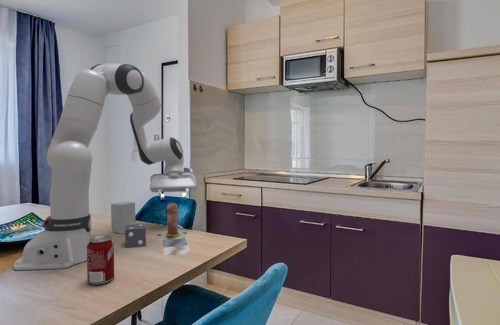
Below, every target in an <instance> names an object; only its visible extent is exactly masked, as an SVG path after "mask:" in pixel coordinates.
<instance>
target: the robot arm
mask: <svg viewBox="0 0 500 325" xmlns="http://www.w3.org/2000/svg"><path fill="white" fill-rule="evenodd" d="M108 94H111V95H116V96H117V95H118V96H122V95H123V96H124V95H126V96H127V99H128V100H129V102H130V105H131V107H132V112H131V113H130V117H129V120H130V125H131V130H132V132H133V137H134V139H135V142H136V146H137V151H138V155H139V158H140V161H141V162H142V163H144V164H146V165H148V166H149V165H153V164H157V163H159V162H163V161H164V165H165V166H164V171H163V172H164V173H154V174H152V175H150V179H149V181H150V184H149V188H150V189H149V190H150V192H151V193H158V195H159V198H160V200H165V194H164V193H179V192H180V193H182V192H184V193H182V199H183V200H186V199H187V196H188V194H189V193H190V192H195V191H197V179H196V176H195V174H194V170H193V169H192V168H190V167H185V166H184V163H185V160H184V158H185V157H184V151H183V147H182V145H181V143H180V141H179V140H178V139H176V138H174V137H172V136H171V137H167V138H162V139H159V140H158V139H157V140H154V141H148V140H147V136H146V133H145V128H144V126H145V125H146V124H148V123H149V122H151V121H152V120H154V119H155V118H156V117H157V115H158V114H159V113H160V112H161V108H162V105H161V100H160V98H159V95H158V93H157V90H156V89H155V86H154V85H153V83H152V81H151V80H150V78H149V77H148V75H147V74H146V73H145V72H143V71H140V69H139V68H138V67H137V66H135V65H132V64H128V63H117V62H108V63H99V64H98V63H97V64H95V65H93V66H92V67H90V68H88V69H87V68H86V69H81V70H79V71H78V72H77V74H76V75H75V77H74V79H73V80H72V82H71V85H70V87H69V89H68V93H67V95H66V99H65V102H64V104H63V108H62V112H61V115H60V117H59V121H58V123H57V126H56V128H55V130H54V132H53V135H52V138H51V141H50V144H49V147H48V150H47V152H46V158H45V159H46V163H47V164H48V166H49V167H50V168H51V175H50V176H51V179H50V191H49V206H50V208H49V209H50V212H49V213H50V215H49V216H47V217H46V218H45V220H43V222H42V227H43V230H42V231H41V232H39V233H38V234H37V235H35V236H34V237H32V238H31V239H30V240H29V241H28V242H27V243H26V244H25V246H24V247H23V250H22V256H20V257H19V258H18V259H16V261H14V263H13V266H12V267H13V270H14V271H26V270H27V271H29V270H30V271H31V270H52V269H53V270H54V269H55V270H56V269H66V268H70V267H71V266H74V265H77V264H81V263H84V262H87V245H88V243H89V242H90V241H89V239H90V238H92V235H91V231H92V230H91V229H92V217H91V214H90V199H89V198H90V196H89V190H90V184H91V183H90V182H91V174H92V163H93V154H92V152H91V150H90V149H89V147H90V146H89V145H90V144H91V141H92V140H93V137H94V134H95V133H96V132H97V130H98V126H99V123H100V119H101V115H102V111H103V109H104V106H105V101H106V97H107V96H108Z"/></svg>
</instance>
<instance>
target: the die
mask: <svg viewBox="0 0 500 325" xmlns="http://www.w3.org/2000/svg"><path fill="white" fill-rule="evenodd" d="M124 234H125V240H124V241H125V249H128V248H129V249H131V248H140V247H141V248H142V247H143V248H144V247H146V246H147V225H146V223H139V224H137V223H135V225H126V229H125V233H124Z"/></svg>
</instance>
